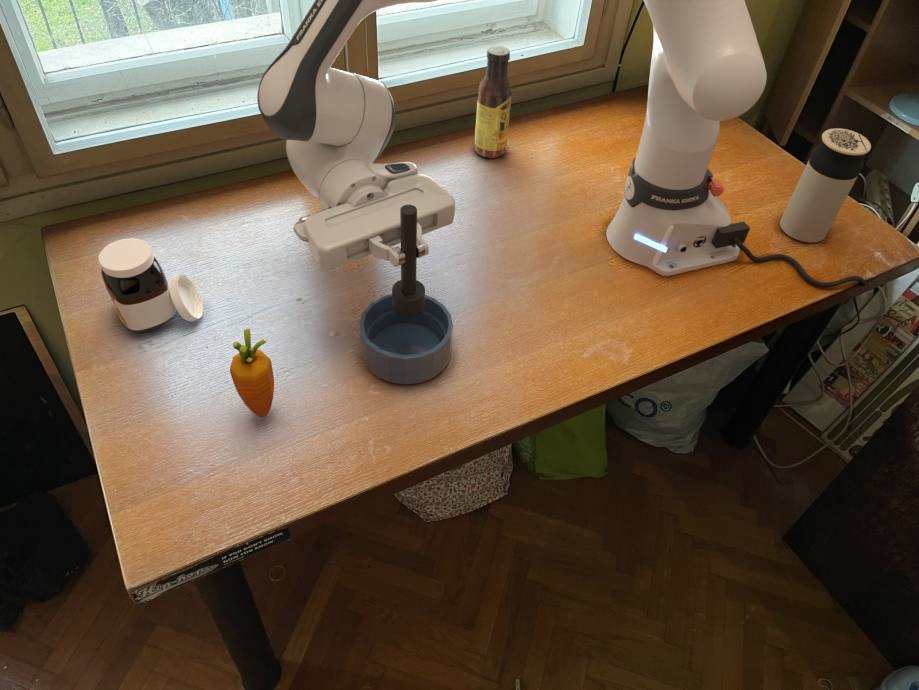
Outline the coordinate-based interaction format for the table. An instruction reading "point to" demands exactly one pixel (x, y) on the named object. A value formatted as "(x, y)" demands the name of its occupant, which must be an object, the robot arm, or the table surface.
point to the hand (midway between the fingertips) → (412, 256)
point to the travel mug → (824, 184)
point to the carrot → (253, 376)
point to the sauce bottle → (493, 105)
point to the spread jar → (145, 287)
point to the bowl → (406, 341)
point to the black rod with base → (408, 269)
